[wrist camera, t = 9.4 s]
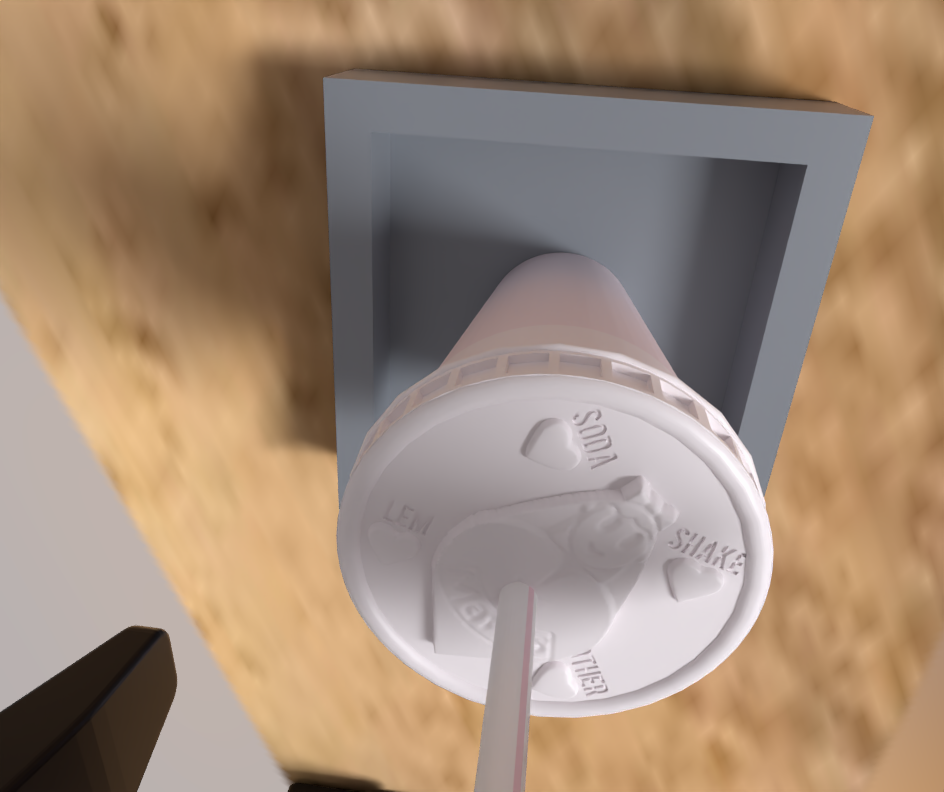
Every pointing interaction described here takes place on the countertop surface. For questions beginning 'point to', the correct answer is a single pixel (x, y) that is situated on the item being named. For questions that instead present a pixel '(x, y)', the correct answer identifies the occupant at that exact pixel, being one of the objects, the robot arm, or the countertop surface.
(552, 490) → the smoothie
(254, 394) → the countertop surface
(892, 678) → the countertop surface
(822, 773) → the countertop surface
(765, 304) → the tray
